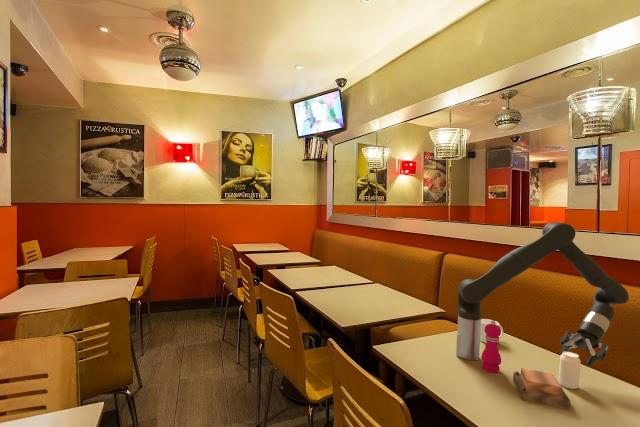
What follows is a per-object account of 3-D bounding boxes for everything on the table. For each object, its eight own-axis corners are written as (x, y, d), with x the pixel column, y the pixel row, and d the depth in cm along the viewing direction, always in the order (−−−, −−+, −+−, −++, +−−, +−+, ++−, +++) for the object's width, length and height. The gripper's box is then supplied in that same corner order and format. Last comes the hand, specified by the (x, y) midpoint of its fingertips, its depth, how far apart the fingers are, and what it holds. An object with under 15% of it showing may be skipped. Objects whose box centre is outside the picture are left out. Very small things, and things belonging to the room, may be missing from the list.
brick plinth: (520, 399, 117) (521, 382, 117) (513, 380, 130) (513, 364, 130) (569, 409, 112) (570, 391, 112) (556, 388, 126) (557, 372, 125)
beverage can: (557, 385, 128) (559, 353, 127) (559, 379, 132) (561, 349, 132) (577, 392, 123) (579, 359, 123) (580, 386, 128) (581, 354, 128)
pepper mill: (499, 367, 141) (501, 319, 140) (502, 375, 134) (505, 324, 133) (479, 364, 143) (482, 316, 142) (481, 371, 136) (484, 321, 136)
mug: (480, 343, 165) (481, 324, 165) (475, 336, 174) (475, 318, 174) (507, 345, 164) (508, 326, 163) (500, 338, 173) (501, 320, 172)
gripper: (570, 315, 139) (551, 347, 134) (612, 327, 126) (592, 363, 121) (577, 326, 141) (558, 358, 136) (619, 339, 128) (600, 375, 124)
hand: (574, 360), depth 129 cm, fingers open, 8 cm apart
